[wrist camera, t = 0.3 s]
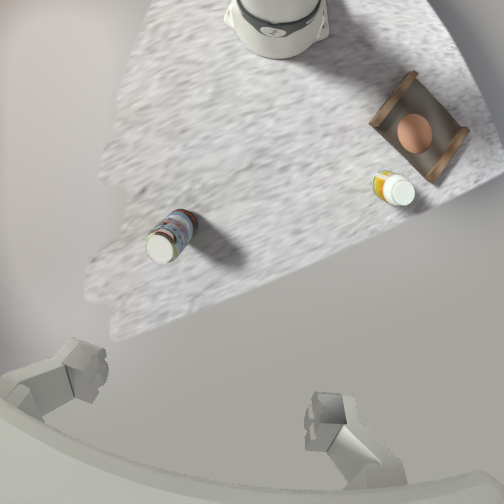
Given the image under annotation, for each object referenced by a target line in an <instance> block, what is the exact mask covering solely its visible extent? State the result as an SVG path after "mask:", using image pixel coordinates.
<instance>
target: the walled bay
mask: <svg viewBox="0 0 504 504" xmlns="http://www.w3.org/2000/svg"><path fill="white" fill-rule="evenodd" d="M417 75H418V73H417V72H416V71H415V70H413V71H411V72H409V73H407V75H406V76H405V77H404V79H403V80H402V81H401V82H400V84H399V85H398V86H397V88H396V89H395V90H394V91H393V93H392V94H391V95H390V97H389V98H388V99H387V100H386V102H385V103H384V104H383V106H382V107H381V108H380V109H379V111H378V112H377V113H376V115H375V116H374V117H373V118H372V120H371V121H370V122H369V125H371V126H372V127H373V128H374V129H375V130H376V131H377V132H378V133H379V134H381V135H382V136H383V137H384V138H385V139H386V140H387V141H388V142H389V143H390V144H391V145H392V146H393V147H394V148H395V149H396V150H397V151H398V152H399V153H401V154H402V155H403V156H404V157H405V158H406V159H407V160H408V161H409V162H410V164H411V165H412V166H413V167H414V168H415V169H416V170H417V171H418V172H419V173H420V174H421V175H422V176H423V177H424V178H425V179H426V180H427V181H430V182H433V183H434V182H435V181H436V179H437V178H438V176H439V175H440V174H441V172H442V171H443V169H444V168H445V167H446V165H447V164H448V162H449V161H450V160H451V158H452V157H453V155H454V154H455V152H456V151H457V149H458V148H459V146H460V145H461V144H462V142H463V141H464V139H465V138H466V136H467V134H468V133H469V131H470V130H469V129H468V128H467V127H460V126H459V125H458V123H457V122H456V121H455V120H454V119H453V118H452V116H451V115H450V114H449V113H448V112H447V111H446V110H445V108H444V107H443V106H442V105H441V104H440V103H439V102H438V101H437V100H436V99H435V98H434V97H433V96H432V95H431V93H430V92H429V91H428V90H427V89H426V88H425V87H424V86H423V85H422V84H421V83H420V82H419V81H418V80H417V79H416V76H417Z"/></svg>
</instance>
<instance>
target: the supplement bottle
mask: <svg viewBox="0 0 504 504" xmlns="http://www.w3.org/2000/svg"><path fill="white" fill-rule="evenodd" d="M372 189H373V191H374V193H375V194H376V195H377V196H378V197H379V198H381V199H383V200H384V201H386V202H388V203H390V204H391V205H394V206H401V205H403V206H404V205H408V204H410V203H411V202H412V201H413V199H414V196H415V190H414V187H413V185H412V184H411V183H410V182H409V180H408V179H407V178H406V177H405V176H403V175H400V174H397V173H394V172H391V171H387V170H383V171H380V172H378V173H377V174H376V175H375V176H374V178H373V180H372Z"/></svg>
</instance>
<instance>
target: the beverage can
mask: <svg viewBox="0 0 504 504" xmlns="http://www.w3.org/2000/svg"><path fill="white" fill-rule="evenodd" d="M197 229H198V223H197V220H196V218H195V217H194V215H193V214H192V213H190V212H189V211H187V210H184V209H178V210H175V211H173V212H172V213H170V214H169V215H168V216H167V217H166V218H165V219H164V220H163V221H161V222H160V223H159V224H158V225H157V226H156V227H155V228H154V229H153V230H152V231H150V233H149V234H148V235H147V238H146V244H145V249H146V253H147V255H148V256H149V257H150V258H151V259H152V260H153V261H155V262H157V263H160V264H164V263H169V262H172V261H174V260H175V259H176V258H177V257H178V256H179V255H180V253H181V252H182V251H183V249H184V248H185V247H186V246H187V244H188V243H189V242H190V241H191V239H192V238H193V237H194V235H195V234H196V232H197Z"/></svg>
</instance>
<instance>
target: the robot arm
mask: <svg viewBox="0 0 504 504" xmlns="http://www.w3.org/2000/svg"><path fill="white" fill-rule="evenodd" d="M224 23H225V24H226V25H227V26H228V27H230V28H231V29H233V30H234V31H235V32H236V33H237V35H238V37H239V38H240V40H241V42H242V43H243V44H244V45H245V46H246V47H247V48H248V49H249V50H251V51H252V52H254V53H256V54H258V55H260V56H263V57H267V58H273V59H284V58H290V57H293V56H296V55H298V54H300V53H302V52H304V51H305V50H306V49H307V48H309V47H310V46H311V45H312V44H313V43H315V42H317V41H320V40H323V39H325V38H327V37H328V36H329V23H328V15H327V7H326V0H232V1H231V3H230V6H229V8H228V10H227V12H226V14H225V16H224ZM322 26H324V28H322ZM105 358H106V350H105V349H104V348H101V347H99V346H96V345H93V344H90V343H88V342H85V341H81V340H79V339H76V338H74V337H73V338H70V339H69V340H68V341H67V342H66V344H65V345H64V346H63V347H62V348H61V349H60V350H59V352H58V353H57V354H56V355H55V356H54V357H53V358H52V360H51V359H46V360H43V361H41V362H37V363H34V364H31V365H28V366H25V367H22V368H20V369H17V370H14V371H11V372H8V373H5V374H4V375H3V376H2V377H1V378H0V504H504V485H503V484H502V483H501V482H499V481H498V480H497V479H496V478H494V477H493V476H492V475H490V474H488V473H487V472H485V471H483V470H477V471H472V472H469V473H465V474H461V475H456V476H453V477H448V478H443V479H439V480H433V481H428V482H422V483H416V484H410V485H408V483H407V479H406V475H405V471H404V467H403V463H402V460H400V458H398V457H397V456H396V455H395V454H394V453H393V452H392V451H391V450H390V449H389V448H388V447H387V446H386V445H385V444H383V443H382V442H381V441H380V440H379V439H378V438H377V437H376V436H375V435H374V434H373V433H372V432H371V431H370V430H369V429H368V428H366V426H364V425H361V423H360V419H359V414H358V410H357V406H356V402H355V398H354V395H353V394H339V393H326V392H315V393H314V394H313V396H312V398H311V399H312V404H310V405H309V406H308V408H307V410H306V414H305V419H304V428H305V429H306V430H307V434H306V436H305V448H306V450H308V451H321V452H327V454H328V456H329V457H330V458H331V460H332V461H333V462H334V464H335V465H336V467H337V468H338V469H339V471H340V472H341V473H342V475H343V476H344V478H345V479H346V480H347V482H348V485H347V486H346V487H345V488H344V489H343V490H332V491H331V490H330V491H321V490H290V489H275V488H265V487H256V486H247V485H240V484H233V483H226V482H220V481H215V480H209V479H204V478H199V477H195V476H190V475H186V474H181V473H177V472H173V471H169V470H166V469H162V468H158V467H155V466H151V465H148V464H144V463H141V462H138V461H135V460H132V459H129V458H126V457H123V456H120V455H117V454H114V453H112V452H109V451H106V450H103V449H101V448H98V447H96V446H93V445H91V444H89V443H86V442H84V441H81V440H79V439H77V438H75V437H72V436H70V435H68V434H66V433H63V432H61V431H59V430H57V429H55V428H53V427H51V426H49V425H47V424H45V422H44V420H43V418H42V416H44V415H46V414H47V413H49V412H51V411H53V410H55V409H56V408H58V407H60V406H62V405H63V404H65V403H67V402H69V401H70V400H72V399H74V397H75V398H78V399H80V400H83V401H86V402H89V403H91V404H92V403H93V402H94V400H95V398H96V397H97V395H98V393H99V391H98V388H99V387H101V386H103V385H104V384H105V382H106V380H107V377H108V371H109V370H108V369H109V368H108V364H107V362H106V361H105V360H104V359H105Z"/></svg>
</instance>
